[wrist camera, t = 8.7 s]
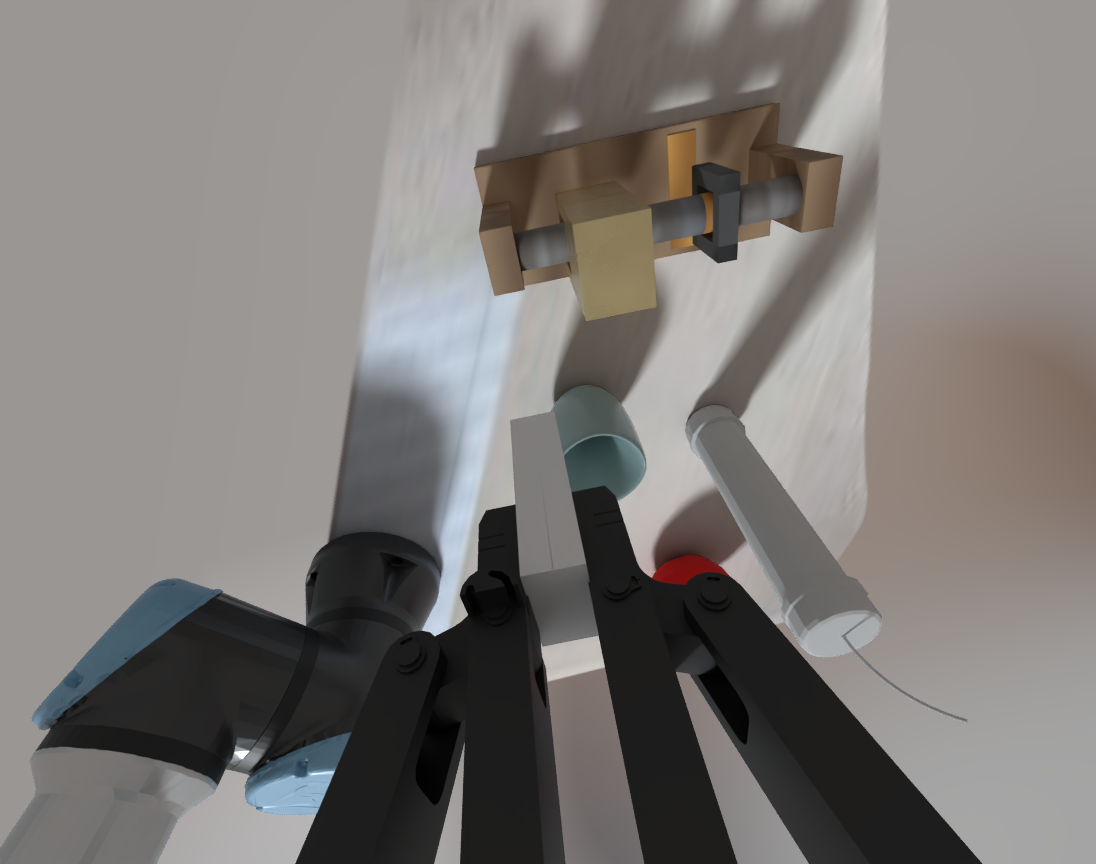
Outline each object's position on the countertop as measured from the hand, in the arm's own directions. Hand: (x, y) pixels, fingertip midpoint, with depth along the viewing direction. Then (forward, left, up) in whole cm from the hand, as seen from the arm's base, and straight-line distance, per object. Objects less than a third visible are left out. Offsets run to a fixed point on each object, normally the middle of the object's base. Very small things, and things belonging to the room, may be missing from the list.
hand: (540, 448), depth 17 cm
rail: (+9, +2, -28) cm, 29 cm away
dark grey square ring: (+13, +2, -22) cm, 26 cm away
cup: (+3, -16, -28) cm, 32 cm away
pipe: (+16, -21, -28) cm, 39 cm away
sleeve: (+5, +2, -22) cm, 23 cm away
